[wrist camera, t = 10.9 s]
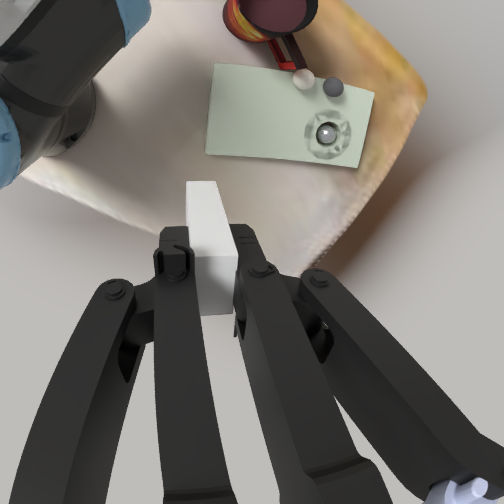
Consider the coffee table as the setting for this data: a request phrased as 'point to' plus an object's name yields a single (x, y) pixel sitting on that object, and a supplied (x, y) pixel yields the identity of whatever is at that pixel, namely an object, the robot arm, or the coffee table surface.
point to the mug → (271, 24)
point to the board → (283, 117)
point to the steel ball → (326, 134)
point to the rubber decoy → (333, 87)
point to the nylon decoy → (303, 79)
